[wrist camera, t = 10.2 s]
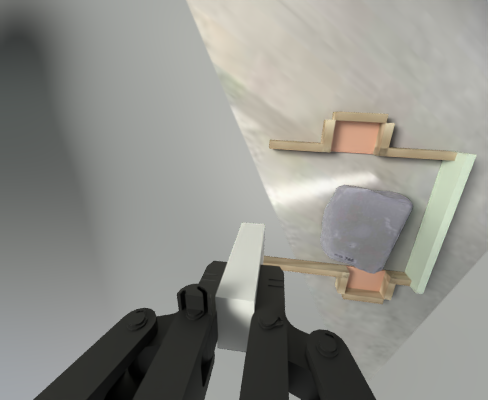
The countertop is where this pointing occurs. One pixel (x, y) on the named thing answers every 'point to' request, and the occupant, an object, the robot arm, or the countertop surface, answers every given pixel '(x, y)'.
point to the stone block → (363, 226)
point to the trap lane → (434, 221)
